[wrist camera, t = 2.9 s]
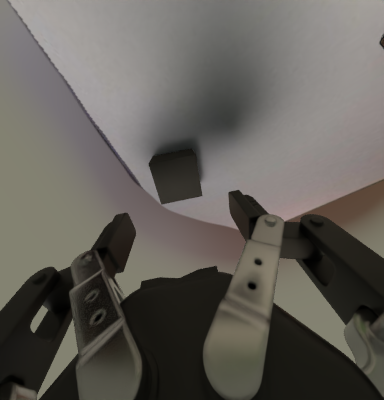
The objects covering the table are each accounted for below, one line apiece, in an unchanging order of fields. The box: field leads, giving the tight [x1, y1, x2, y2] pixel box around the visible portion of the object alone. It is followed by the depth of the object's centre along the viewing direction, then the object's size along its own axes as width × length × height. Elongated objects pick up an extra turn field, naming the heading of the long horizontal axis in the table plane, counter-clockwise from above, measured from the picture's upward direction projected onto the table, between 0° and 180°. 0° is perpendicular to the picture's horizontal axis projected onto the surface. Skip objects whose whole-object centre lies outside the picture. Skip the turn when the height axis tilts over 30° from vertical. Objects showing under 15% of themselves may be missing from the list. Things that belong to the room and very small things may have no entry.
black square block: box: [149, 148, 202, 204], centre depth 20 cm, size 6×6×4 cm
